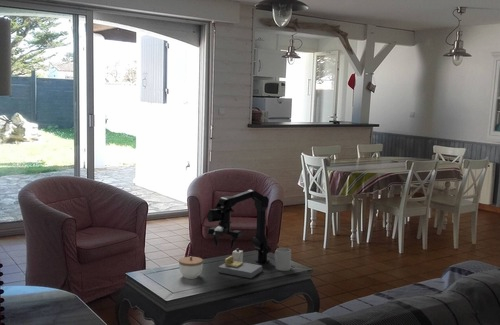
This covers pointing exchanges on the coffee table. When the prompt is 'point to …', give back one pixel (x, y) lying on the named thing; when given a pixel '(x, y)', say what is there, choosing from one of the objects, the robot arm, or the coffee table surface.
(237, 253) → the plug
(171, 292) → the coffee table surface
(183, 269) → the lidded bowl
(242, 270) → the socket block
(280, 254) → the mug
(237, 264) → the tan piece
